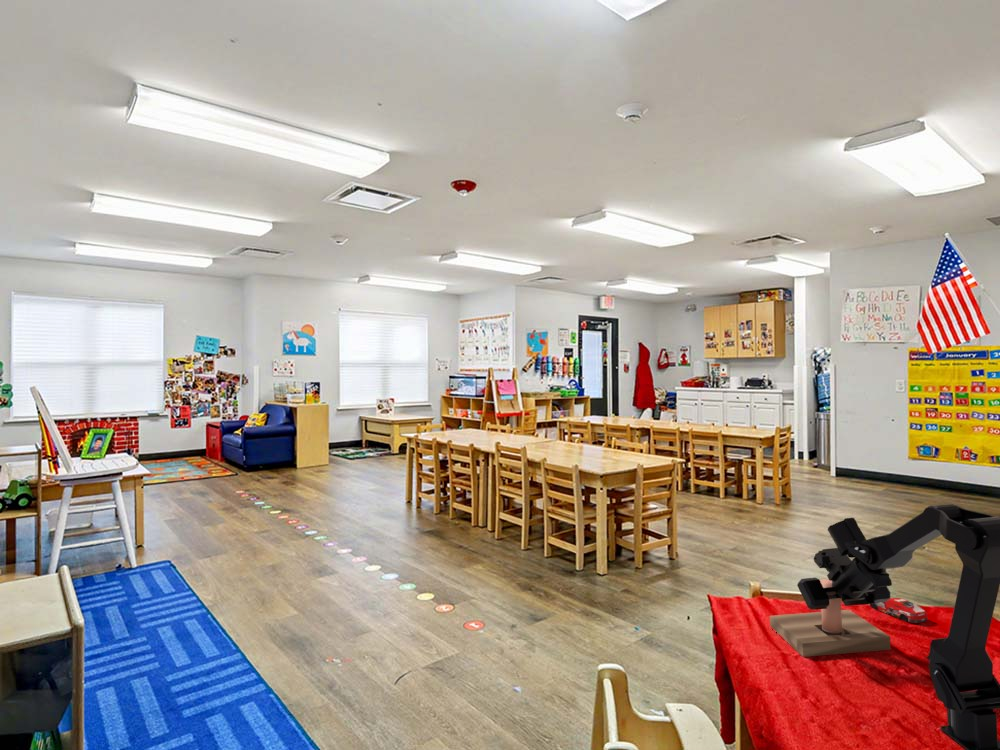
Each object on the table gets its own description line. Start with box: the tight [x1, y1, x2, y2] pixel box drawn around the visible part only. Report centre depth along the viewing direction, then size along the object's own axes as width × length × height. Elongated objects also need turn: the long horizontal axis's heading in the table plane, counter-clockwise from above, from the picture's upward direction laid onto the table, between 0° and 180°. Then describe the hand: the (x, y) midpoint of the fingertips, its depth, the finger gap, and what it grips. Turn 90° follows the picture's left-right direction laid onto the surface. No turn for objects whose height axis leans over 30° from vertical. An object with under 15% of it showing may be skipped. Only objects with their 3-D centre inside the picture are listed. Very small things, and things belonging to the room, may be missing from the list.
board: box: [769, 609, 891, 658], centre depth 136 cm, size 14×20×3 cm
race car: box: [869, 597, 928, 624], centre depth 146 cm, size 13×5×4 cm, turn 18°
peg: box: [819, 578, 843, 636], centre depth 134 cm, size 4×4×14 cm
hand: (827, 605), depth 135 cm, fingers open, 8 cm apart
